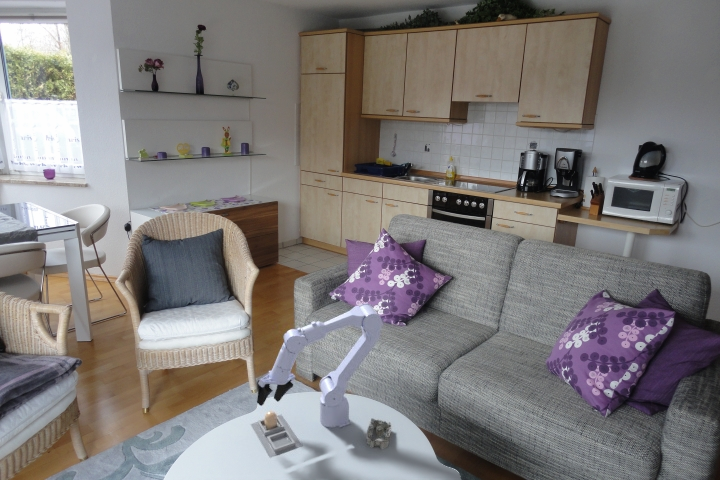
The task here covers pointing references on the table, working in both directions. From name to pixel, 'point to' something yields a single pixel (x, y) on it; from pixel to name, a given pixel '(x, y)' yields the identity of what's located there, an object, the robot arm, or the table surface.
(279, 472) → the table surface
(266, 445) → the egg stand
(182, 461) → the table surface
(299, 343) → the robot arm
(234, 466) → the table surface
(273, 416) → the egg
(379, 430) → the grey stone ruin model
